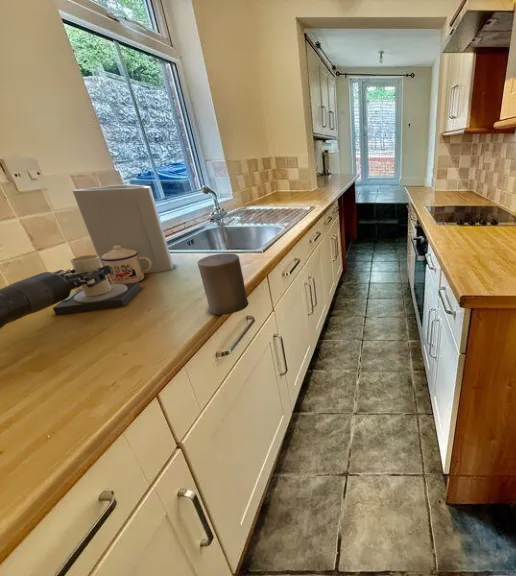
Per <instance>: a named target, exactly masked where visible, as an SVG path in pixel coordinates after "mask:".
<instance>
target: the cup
mask: <svg viewBox="0 0 516 576" xmlns="http://www.w3.org/2000/svg"><path fill="white" fill-rule="evenodd" d="M70 263H71V265H72V267H73V268H72V269H74V270H75V273H77V272H81V271H92V270H95V269H98V268H101V267H103V264H102V262H101V259H100V256H99V255H97V254H85V255H78V256H76V257H73V258H71V259H70ZM92 274H93V273H92ZM90 275H91V274H90ZM82 277H83V279H84V278H85V276H84V274H82ZM105 277H106V280H104V281H102V282H100V283H98V284H97V285H95V286H93V287H87V285H84V286H81V287H80V288H82V289H83V292H84V294H85V295H86V296H96V295H101V294H104V293H107V292H109V291H111V290H112V288H111V285H110V284H111V282H110V281H109V280H110V279H109V278H108V277H107V275H105Z"/></svg>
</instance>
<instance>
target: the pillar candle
mask: <svg viewBox="0 0 516 576" xmlns="http://www.w3.org/2000/svg"><path fill="white" fill-rule="evenodd" d="M197 266H198V270H199V274H200V277H201V281H202V286H203V290H204V294H205V297H206V300H207V305H208V308H209V309H208V310H209V311H210V312H211V313H212V314H214V315H217V316H223V315H231V314H234V313H235V314H236V313H238V312H241V311H243V310H244V309H246V308H247V307H248V306H249V300H248V294H247V291H246V285H245V281H244V280H245V279H244V276H243V270H242V265H241V261H240V257H239V255H238V254H235V253H224V252H223V253H216V254H211V255H207V256H204V257H202V258H200V259H199V260H198V261H197Z"/></svg>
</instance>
